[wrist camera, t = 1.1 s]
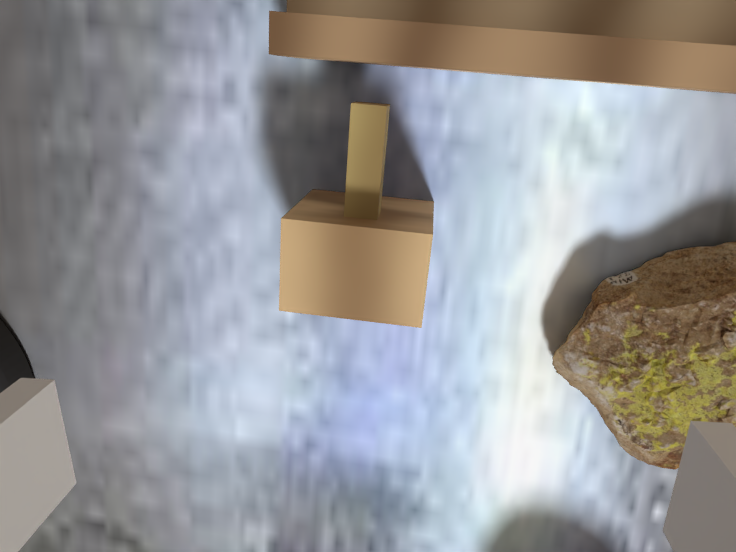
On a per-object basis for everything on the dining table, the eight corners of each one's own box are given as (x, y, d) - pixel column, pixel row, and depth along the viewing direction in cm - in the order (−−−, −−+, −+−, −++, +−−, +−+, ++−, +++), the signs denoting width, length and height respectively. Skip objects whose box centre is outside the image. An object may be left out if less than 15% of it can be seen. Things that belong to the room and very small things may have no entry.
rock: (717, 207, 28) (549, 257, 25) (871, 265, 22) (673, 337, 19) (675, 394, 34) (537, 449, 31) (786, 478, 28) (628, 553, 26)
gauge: (310, 264, 29) (279, 310, 23) (316, 93, 26) (283, 99, 20) (424, 277, 28) (421, 327, 23) (445, 105, 25) (448, 113, 20)
